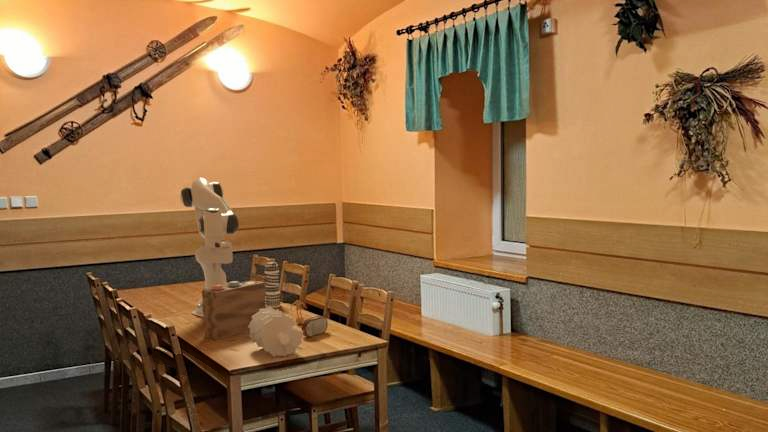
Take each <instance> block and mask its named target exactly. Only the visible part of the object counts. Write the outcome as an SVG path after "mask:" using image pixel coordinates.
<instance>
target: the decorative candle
mask: <svg viewBox="0 0 768 432" xmlns="http://www.w3.org/2000/svg"><path fill="white" fill-rule="evenodd" d="M280 274H281V272H280V271H279V264H278V263H277V262H275V261H267V262H266V263H265V264H264V272H263V282H264V284H265V304H266V309H268V307H271V308H273V309H275V308H279V307H282V305H281V303H282V302H281V301H282V300H281V292H280V286H281V284H280V283H281V281H280V280H281V278H279V277H281V275H280Z"/></svg>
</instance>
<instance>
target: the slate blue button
mask: <svg viewBox="0 0 768 432" xmlns="http://www.w3.org/2000/svg"><path fill="white" fill-rule="evenodd" d="M239 283H240V281H237V280H234V281H229V282H228V285H229V287H230V288H235V287H239Z"/></svg>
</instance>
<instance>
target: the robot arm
mask: <svg viewBox="0 0 768 432" xmlns="http://www.w3.org/2000/svg"><path fill="white" fill-rule="evenodd" d="M179 198H180V201H181V202H182V203H181V204H183V206H184V207H186V208H192V207H194V215H195V220H196V226H197V230H198V234H199V236H201V237H202V238H203V239H204V242H201V244H200V245H199V247H198V248H197V249H196V251H195V253H194V257H195V260H196V261H197V263H198V264H200V267H201V268H202V271H203V275H204V282H205V284H204V286H205V289H204V290H208V289H212V286H213V285H223V286H227V273H226V272H225V271H224V270H223V269H222V264H225V265H227V264H231V263H232V262H233V260H234V257H233V255H234V254H233V244H232V242H231V241H230V240H228V239H226V238H225V234H226V235H233V234H235V233H236V232H237V231H238V230H239V226H240V223H239V218H238V216H237V215H236V214H235V212H233V210H232V209H231V208H230V205H229V204H228V202H227V201H226V200H225V198H224V189H223V186H222V185H221V183H220V182H218V181H212V182H209V180H208V179H206V178H203V177H198V178H196V179H195V180H194V181H192V183H191V186H186V187H184V188H182V190H181V191H180V197H179ZM191 314H192V315H193V316H194V315H195V316H198V317H201V318H204V317H203V298H202V297H201V298H200V299H199V300H198V301H197V302H196V304H195V310H193V311H191Z"/></svg>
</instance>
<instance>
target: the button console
mask: <svg viewBox="0 0 768 432" xmlns="http://www.w3.org/2000/svg"><path fill="white" fill-rule="evenodd" d="M248 282H255V283H254V284H250V285H249V284H245V283H248ZM264 283H265V281H256V280H248V281H247V280H246V281H244V282H239V287H235V288H230V287H229V284H228V285H226V286H223V290H221V291H212V289H208V290H205V289H202V291H201V293H202V294H201V295H202V297H201V298H203V317H202V318H203V330H204V333H203V334H204V338H208V339H214V340H222V339H226V338H229V337H230V338H231V337H233V336H236V335H239V334H244V333H247V332H250V328H248V326H249V324H250V322H251V321H252V317H251V316H253V315H254V314H256V313H258V312H259V309H267V307H266V298H265V297H266V296H265V295H266V287H265V284H264Z"/></svg>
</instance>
